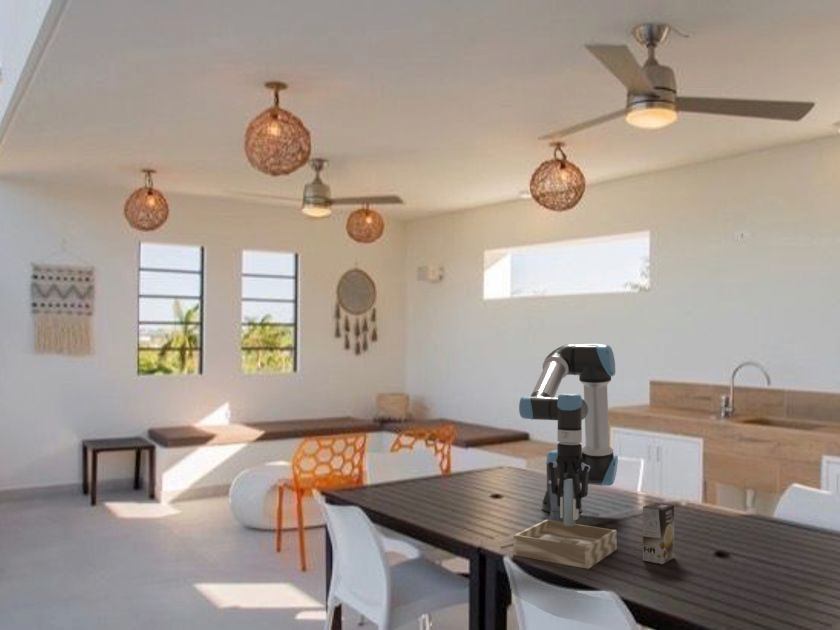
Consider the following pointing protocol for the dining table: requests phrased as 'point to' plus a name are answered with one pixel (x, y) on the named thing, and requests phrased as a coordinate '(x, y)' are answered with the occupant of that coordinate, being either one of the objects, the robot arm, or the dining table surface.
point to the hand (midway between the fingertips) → (569, 518)
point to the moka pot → (554, 505)
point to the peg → (568, 502)
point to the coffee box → (658, 532)
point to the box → (565, 543)
